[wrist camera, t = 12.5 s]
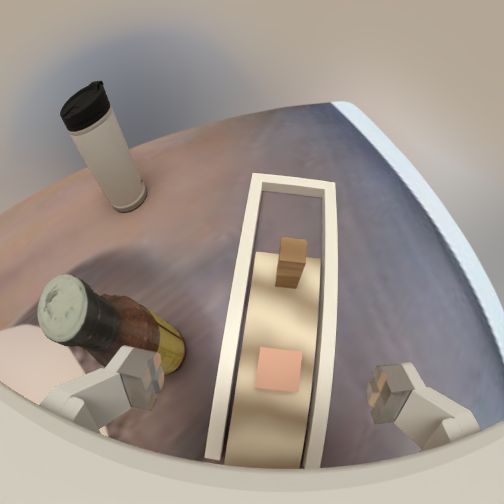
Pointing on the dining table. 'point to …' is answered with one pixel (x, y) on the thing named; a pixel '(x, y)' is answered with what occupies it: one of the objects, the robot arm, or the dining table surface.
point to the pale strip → (278, 337)
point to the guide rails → (325, 320)
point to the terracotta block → (278, 369)
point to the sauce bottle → (105, 323)
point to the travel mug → (104, 146)
